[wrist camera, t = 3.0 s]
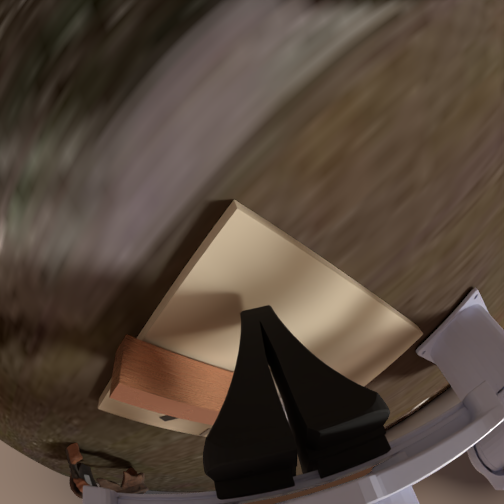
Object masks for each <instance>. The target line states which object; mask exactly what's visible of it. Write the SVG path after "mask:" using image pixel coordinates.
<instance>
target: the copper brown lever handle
mask: <svg viewBox="0 0 504 504" xmlns="http://www.w3.org/2000/svg"><path fill="white" fill-rule="evenodd" d="M233 374H234V373H233V372H230V371H226V370H223V369H220V368H217V367H213V366H210V365H207V364H204V363H201V362H198V361H195V360H192V359H189V358H187V357H184V356H181V355H178V354H175V353H173V352H170V351H167V350H164V349H162V348H159V347H157V346H154V345H152V344H149V343H147V342H144V341H142V340H139V339H137V338H134V337H132V336H130V335H127V334H126V335H125V337H124V339H123V340H122V342H121V344H120V345H119V347H118V349H117V351H116V355H115V361H114V368H113V374H112V381H111V388H110V396H109V398H112V399H115V400H117V401H120V402H123V403H127V404H130V405H133V406H136V407H139V408H143V409H146V410H149V411H153V412H157V413H160V414H164V415H168V416H172V417H176V418H180V419H185V420H189V421H194V422H198V423H203V424H209V425H213V424H214V422H215V421H216V419H217V416H218V414H219V412H220V410H221V408H222V405H223V403H224V401H225V398H226V395H227V393H228V390H229V387H230V384H231V381H232V377H233ZM271 375H272V373H271ZM272 378H273V375H272ZM273 381H274V384H275V387H276V390H277V393H278V396H279V398H280V401H281V404H282V407H283V410H284V412H285V415H286V418H287V414H286V411H285V408H284V404H283V401H282V398H281V395H280V393H279V390H278V388H277V385H276V383H275V380H274V378H273ZM287 420H288V418H287ZM288 423H289V421H288ZM289 426H290V425H289Z"/></svg>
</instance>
